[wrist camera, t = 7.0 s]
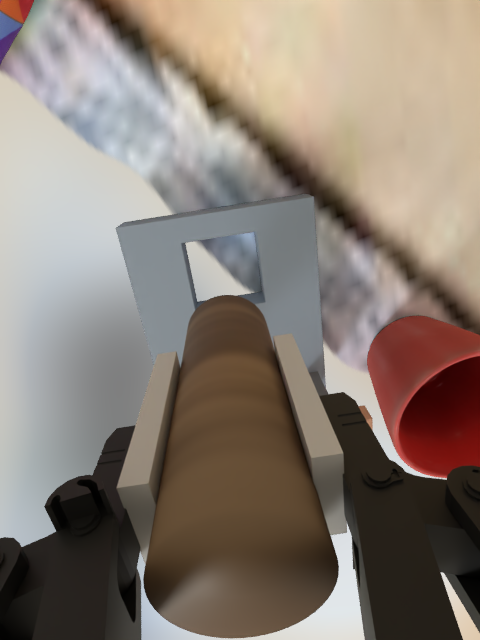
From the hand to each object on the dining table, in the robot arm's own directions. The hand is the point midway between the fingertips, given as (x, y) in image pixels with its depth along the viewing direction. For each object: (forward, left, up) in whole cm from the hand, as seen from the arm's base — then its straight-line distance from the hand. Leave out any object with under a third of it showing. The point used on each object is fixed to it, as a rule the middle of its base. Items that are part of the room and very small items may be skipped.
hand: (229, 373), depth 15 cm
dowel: (0, 0, -4) cm, 4 cm away
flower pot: (+11, +15, -17) cm, 25 cm away
